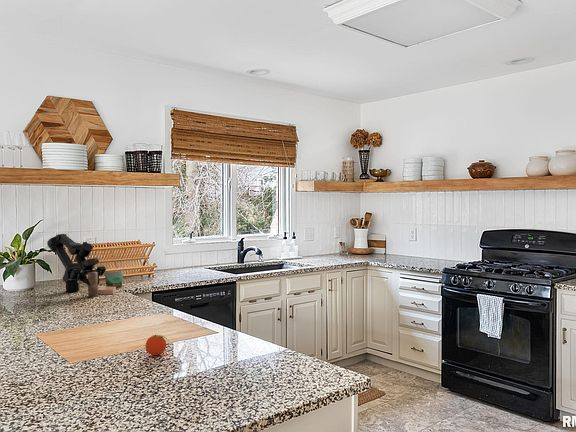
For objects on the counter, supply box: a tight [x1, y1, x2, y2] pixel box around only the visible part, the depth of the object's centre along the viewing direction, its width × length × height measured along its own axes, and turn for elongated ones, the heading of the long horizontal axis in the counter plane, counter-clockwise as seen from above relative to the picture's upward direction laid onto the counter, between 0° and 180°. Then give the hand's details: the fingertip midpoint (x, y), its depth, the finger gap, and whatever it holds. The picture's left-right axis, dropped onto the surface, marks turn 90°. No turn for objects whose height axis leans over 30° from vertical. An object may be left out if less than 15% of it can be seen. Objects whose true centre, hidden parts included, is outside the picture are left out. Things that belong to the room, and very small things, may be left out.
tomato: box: [145, 334, 169, 356], centre depth 172 cm, size 8×7×7 cm
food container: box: [103, 269, 125, 289], centre depth 298 cm, size 12×6×10 cm, turn 143°
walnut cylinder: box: [87, 272, 99, 298], centre depth 273 cm, size 5×5×13 cm
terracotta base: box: [98, 286, 117, 295], centre depth 283 cm, size 9×9×2 cm
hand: (94, 284), depth 272 cm, fingers closed on walnut cylinder, 5 cm apart
